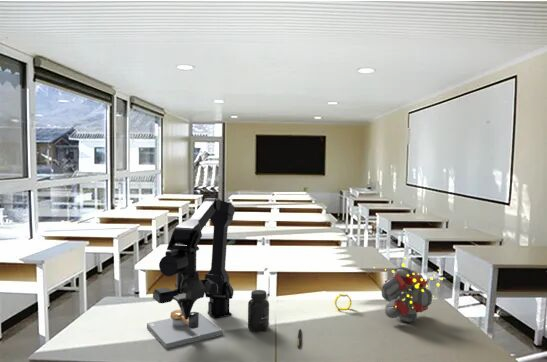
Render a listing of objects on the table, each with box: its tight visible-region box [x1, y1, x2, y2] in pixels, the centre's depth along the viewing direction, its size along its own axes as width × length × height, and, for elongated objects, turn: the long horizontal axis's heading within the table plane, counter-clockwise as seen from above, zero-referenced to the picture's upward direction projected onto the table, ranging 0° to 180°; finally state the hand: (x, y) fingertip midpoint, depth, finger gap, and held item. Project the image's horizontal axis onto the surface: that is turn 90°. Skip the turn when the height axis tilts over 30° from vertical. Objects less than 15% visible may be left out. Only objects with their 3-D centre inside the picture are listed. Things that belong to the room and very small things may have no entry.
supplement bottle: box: [247, 289, 270, 333], centre depth 136 cm, size 7×7×12 cm
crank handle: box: [170, 309, 200, 329], centre depth 133 cm, size 14×6×4 cm, turn 36°
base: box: [146, 312, 223, 349], centre depth 134 cm, size 18×18×4 cm
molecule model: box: [373, 256, 444, 323], centre depth 143 cm, size 25×21×23 cm
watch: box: [334, 292, 352, 311], centre depth 154 cm, size 6×3×6 cm, turn 96°
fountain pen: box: [296, 328, 302, 349], centre depth 129 cm, size 14×1×2 cm, turn 175°
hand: (186, 319), depth 127 cm, fingers closed
